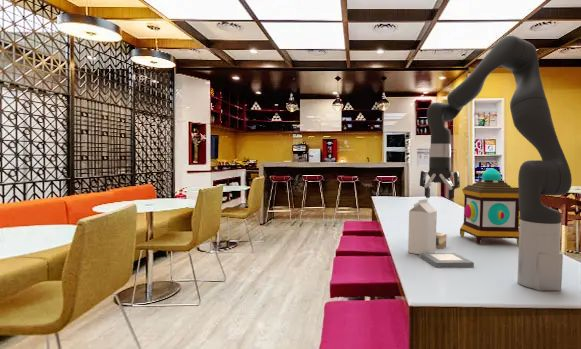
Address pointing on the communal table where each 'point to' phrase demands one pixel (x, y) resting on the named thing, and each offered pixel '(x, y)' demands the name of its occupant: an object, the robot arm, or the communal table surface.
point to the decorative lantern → (491, 208)
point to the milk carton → (422, 228)
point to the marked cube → (440, 240)
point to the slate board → (446, 260)
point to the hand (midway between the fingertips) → (438, 198)
